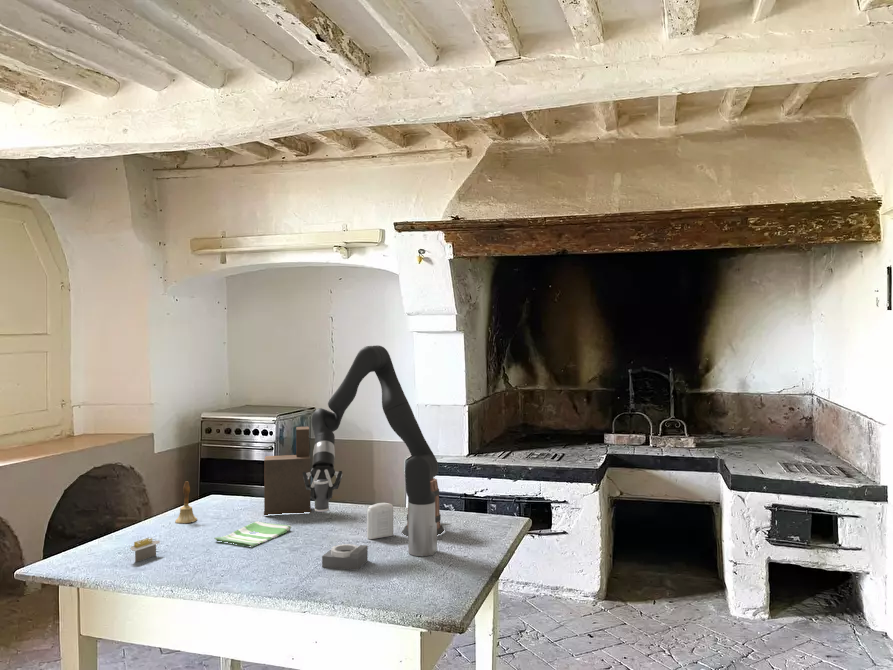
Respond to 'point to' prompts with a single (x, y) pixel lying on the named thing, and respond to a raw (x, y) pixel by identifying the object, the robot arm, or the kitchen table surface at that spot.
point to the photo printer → (379, 520)
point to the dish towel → (247, 539)
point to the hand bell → (186, 508)
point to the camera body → (346, 557)
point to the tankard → (437, 512)
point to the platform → (144, 549)
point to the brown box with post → (288, 479)
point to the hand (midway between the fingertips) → (321, 498)
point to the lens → (321, 495)
